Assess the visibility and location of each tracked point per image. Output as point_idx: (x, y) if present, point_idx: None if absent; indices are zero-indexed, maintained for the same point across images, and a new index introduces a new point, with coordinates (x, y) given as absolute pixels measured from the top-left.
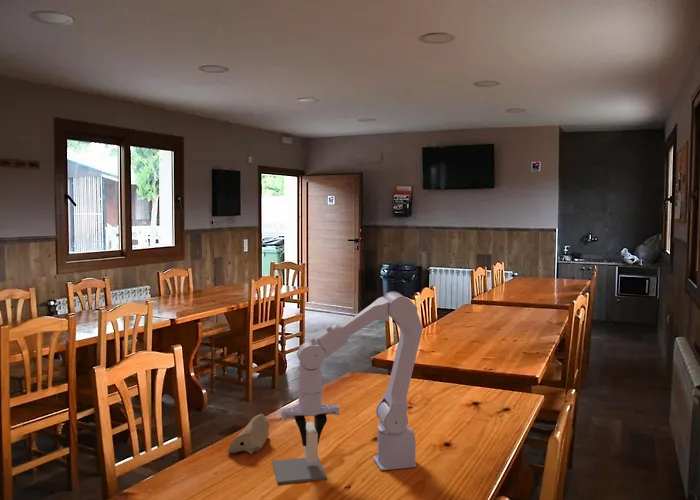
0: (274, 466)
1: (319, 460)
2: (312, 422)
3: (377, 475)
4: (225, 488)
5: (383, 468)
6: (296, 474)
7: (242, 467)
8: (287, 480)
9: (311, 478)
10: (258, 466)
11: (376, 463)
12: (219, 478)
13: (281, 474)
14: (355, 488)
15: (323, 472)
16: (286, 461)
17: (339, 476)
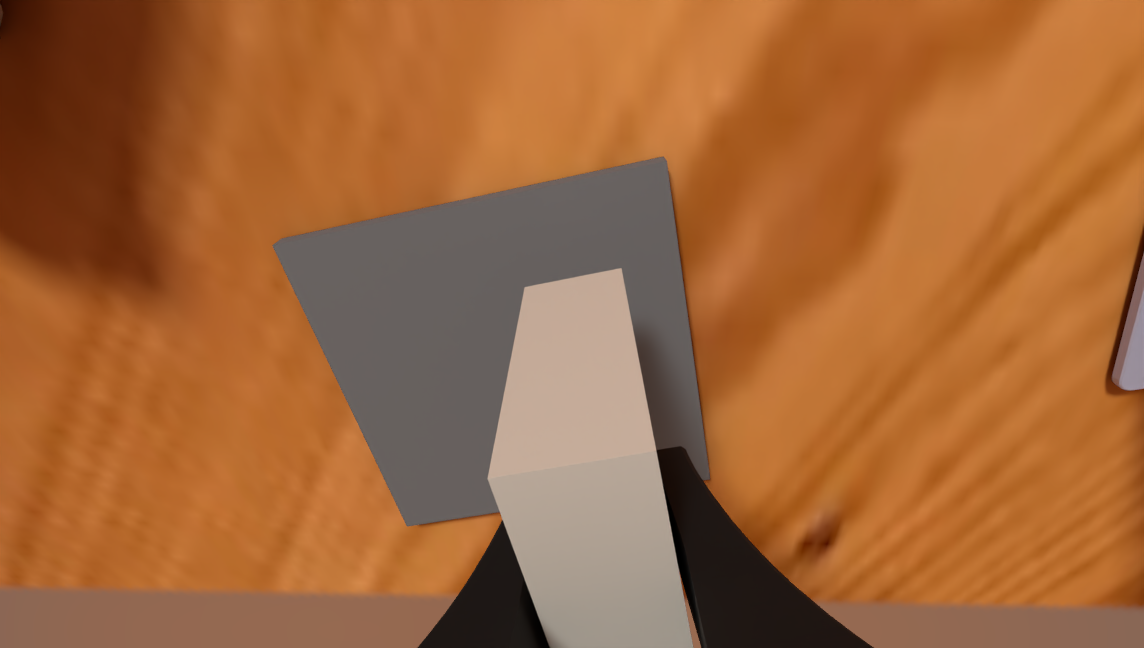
0: (323, 342)
1: (674, 244)
2: (658, 464)
3: (1050, 431)
4: (131, 543)
5: (1141, 384)
6: None
7: (77, 304)
8: (464, 514)
9: None
10: (192, 290)
11: (1136, 283)
12: (19, 446)
13: (408, 448)
14: (856, 556)
15: (693, 432)
16: (395, 257)
17: (793, 438)
